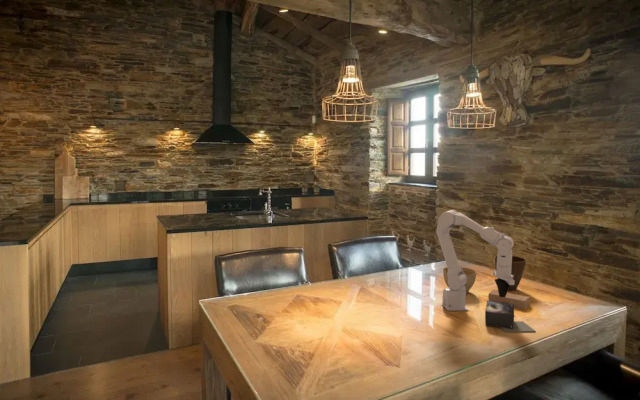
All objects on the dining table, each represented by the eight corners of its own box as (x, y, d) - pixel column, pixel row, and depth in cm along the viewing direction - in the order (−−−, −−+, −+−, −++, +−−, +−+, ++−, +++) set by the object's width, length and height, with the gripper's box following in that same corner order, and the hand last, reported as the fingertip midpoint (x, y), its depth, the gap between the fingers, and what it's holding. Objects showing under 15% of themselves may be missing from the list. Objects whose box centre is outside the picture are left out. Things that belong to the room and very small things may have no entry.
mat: (505, 332, 161) (505, 331, 161) (494, 322, 171) (494, 321, 171) (535, 332, 162) (535, 330, 162) (522, 322, 171) (522, 321, 171)
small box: (514, 302, 171) (514, 314, 162) (514, 316, 172) (514, 329, 163) (486, 299, 175) (485, 311, 166) (486, 313, 177) (485, 326, 167)
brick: (530, 305, 192) (530, 295, 192) (525, 310, 186) (526, 300, 185) (492, 298, 203) (493, 288, 202) (487, 302, 196) (487, 292, 196)
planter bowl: (478, 290, 214) (479, 269, 212) (471, 298, 200) (472, 276, 199) (447, 284, 222) (448, 264, 221) (438, 292, 209) (439, 271, 207)
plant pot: (496, 282, 227) (498, 253, 225) (526, 287, 218) (528, 257, 217) (489, 289, 215) (491, 259, 213) (521, 295, 206) (523, 263, 204)
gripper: (522, 269, 168) (520, 302, 169) (504, 260, 182) (503, 291, 184) (505, 269, 167) (503, 302, 169) (489, 260, 182) (487, 291, 183)
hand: (502, 296), depth 176 cm, fingers closed
